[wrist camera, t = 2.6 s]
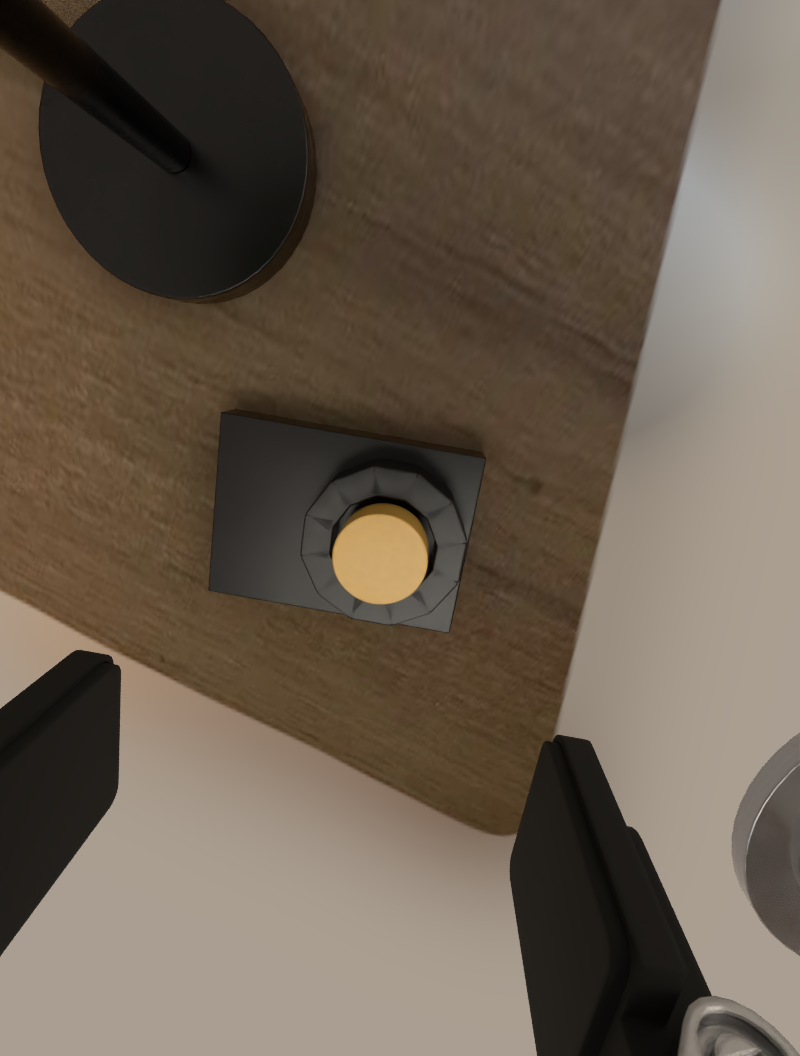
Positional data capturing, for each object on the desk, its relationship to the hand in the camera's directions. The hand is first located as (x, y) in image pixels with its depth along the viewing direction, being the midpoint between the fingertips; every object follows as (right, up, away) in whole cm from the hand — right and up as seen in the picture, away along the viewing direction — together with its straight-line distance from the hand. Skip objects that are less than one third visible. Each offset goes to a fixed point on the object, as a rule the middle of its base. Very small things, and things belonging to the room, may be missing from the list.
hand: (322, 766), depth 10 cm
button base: (-1, +5, +15) cm, 16 cm away
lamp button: (+1, +4, +12) cm, 13 cm away
